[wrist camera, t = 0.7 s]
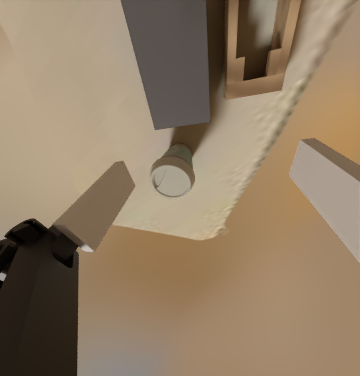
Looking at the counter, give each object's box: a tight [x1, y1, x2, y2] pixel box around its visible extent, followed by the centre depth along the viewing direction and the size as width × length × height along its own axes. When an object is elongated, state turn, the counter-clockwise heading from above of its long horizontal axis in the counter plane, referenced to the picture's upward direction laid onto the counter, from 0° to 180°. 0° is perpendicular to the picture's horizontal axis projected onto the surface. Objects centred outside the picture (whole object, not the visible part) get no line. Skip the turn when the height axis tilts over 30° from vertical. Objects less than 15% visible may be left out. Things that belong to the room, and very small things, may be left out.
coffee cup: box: [150, 143, 195, 199], centre depth 30 cm, size 8×8×12 cm
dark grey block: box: [121, 0, 210, 130], centre depth 21 cm, size 15×9×8 cm, turn 10°
